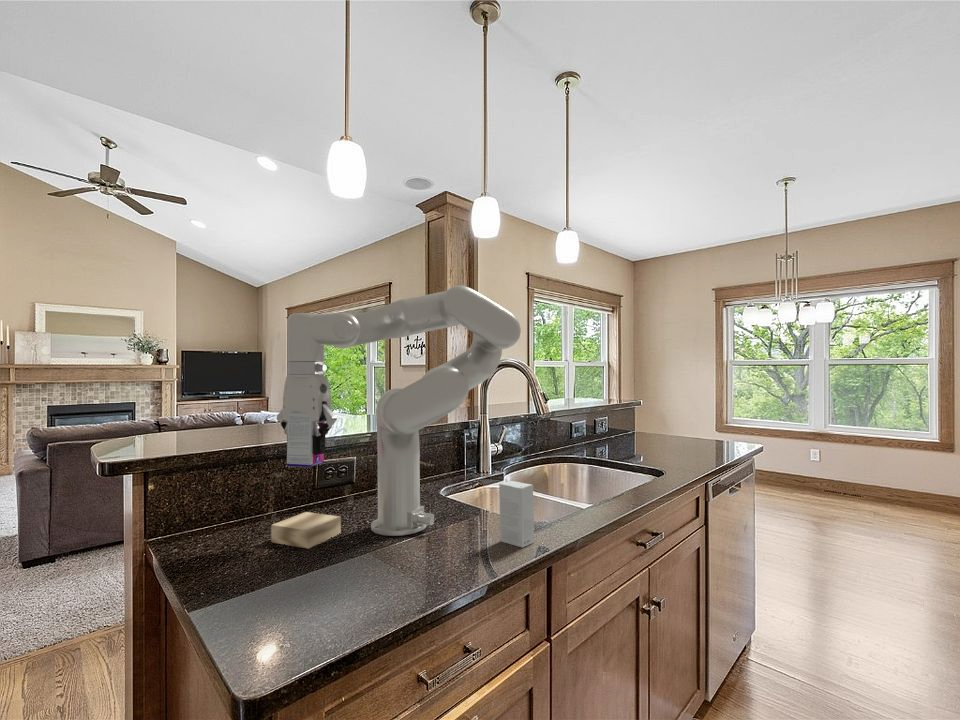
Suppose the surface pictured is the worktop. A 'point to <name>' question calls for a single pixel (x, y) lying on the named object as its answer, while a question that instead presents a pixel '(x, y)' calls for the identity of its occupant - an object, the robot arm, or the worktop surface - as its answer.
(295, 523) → the oak block
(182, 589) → the worktop surface
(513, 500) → the skincare box
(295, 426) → the supplement box
